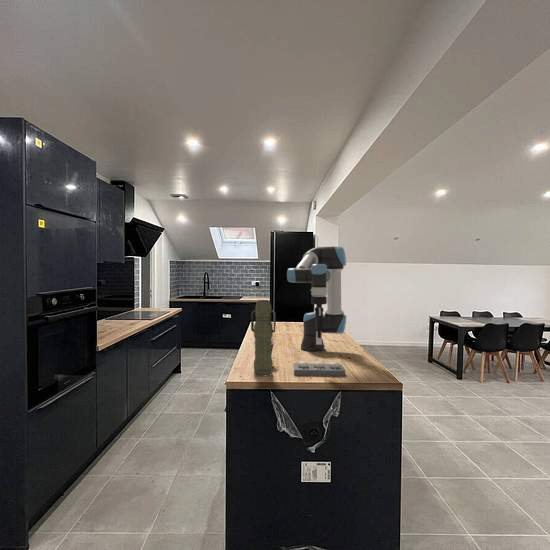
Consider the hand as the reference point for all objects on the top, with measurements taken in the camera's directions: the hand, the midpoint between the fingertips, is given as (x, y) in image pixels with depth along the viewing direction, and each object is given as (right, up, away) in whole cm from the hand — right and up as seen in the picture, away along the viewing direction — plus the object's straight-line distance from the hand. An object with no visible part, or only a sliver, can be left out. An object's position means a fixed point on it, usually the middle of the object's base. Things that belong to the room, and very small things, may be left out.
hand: (318, 344), depth 175 cm
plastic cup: (-27, -14, +14) cm, 33 cm away
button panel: (0, -14, 0) cm, 14 cm away
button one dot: (+7, -13, -1) cm, 15 cm away
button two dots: (-8, -13, 0) cm, 15 cm away
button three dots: (0, -13, 0) cm, 13 cm away
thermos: (-27, -14, -3) cm, 31 cm away
